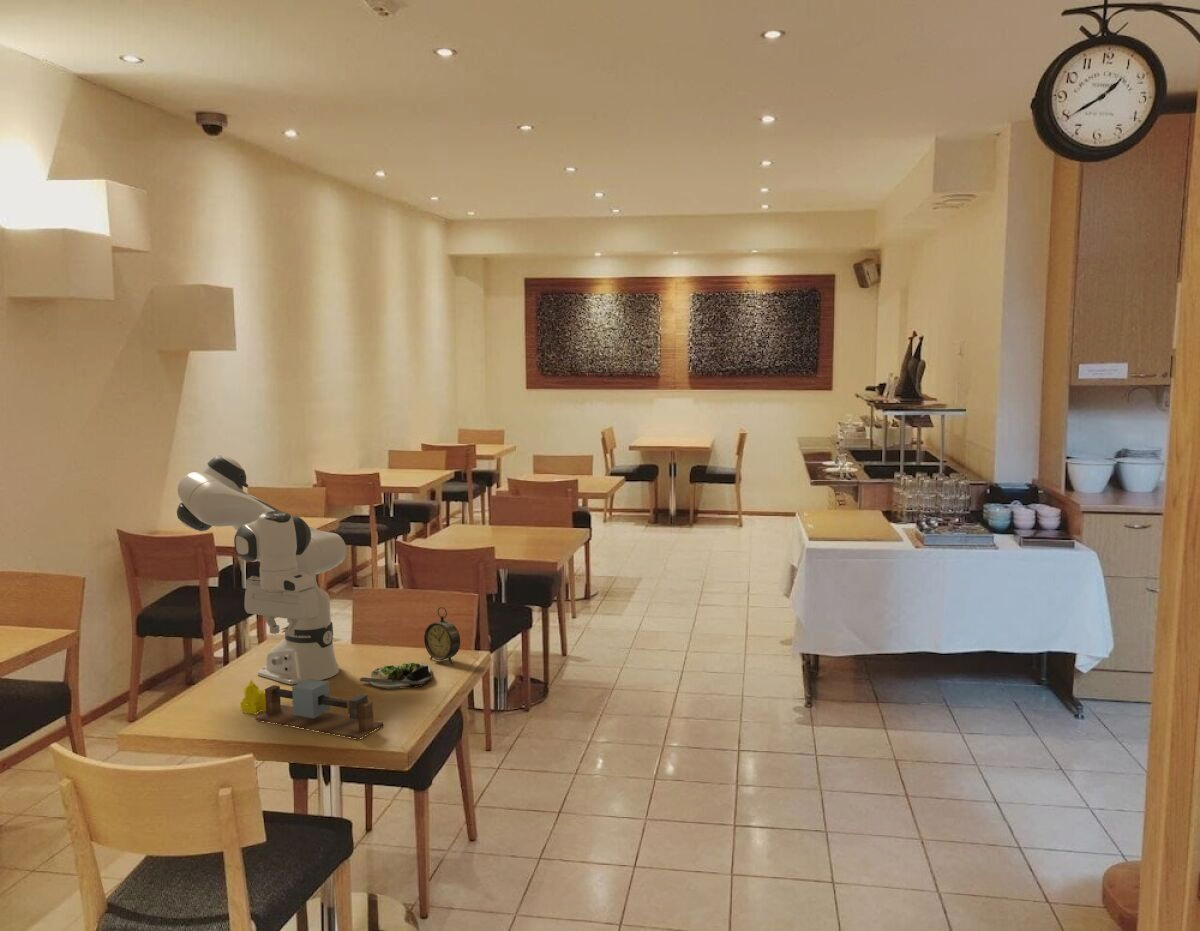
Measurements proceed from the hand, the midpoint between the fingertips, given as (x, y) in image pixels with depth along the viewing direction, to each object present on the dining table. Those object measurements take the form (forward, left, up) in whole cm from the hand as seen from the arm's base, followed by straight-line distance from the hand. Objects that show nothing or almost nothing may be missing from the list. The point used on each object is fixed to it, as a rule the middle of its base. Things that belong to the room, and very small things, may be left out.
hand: (282, 634), depth 228 cm
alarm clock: (+14, +50, -21) cm, 56 cm away
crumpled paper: (-11, +1, -22) cm, 24 cm away
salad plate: (+11, +33, -22) cm, 41 cm away
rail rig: (+10, 0, -21) cm, 23 cm away
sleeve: (+8, 0, -19) cm, 20 cm away
